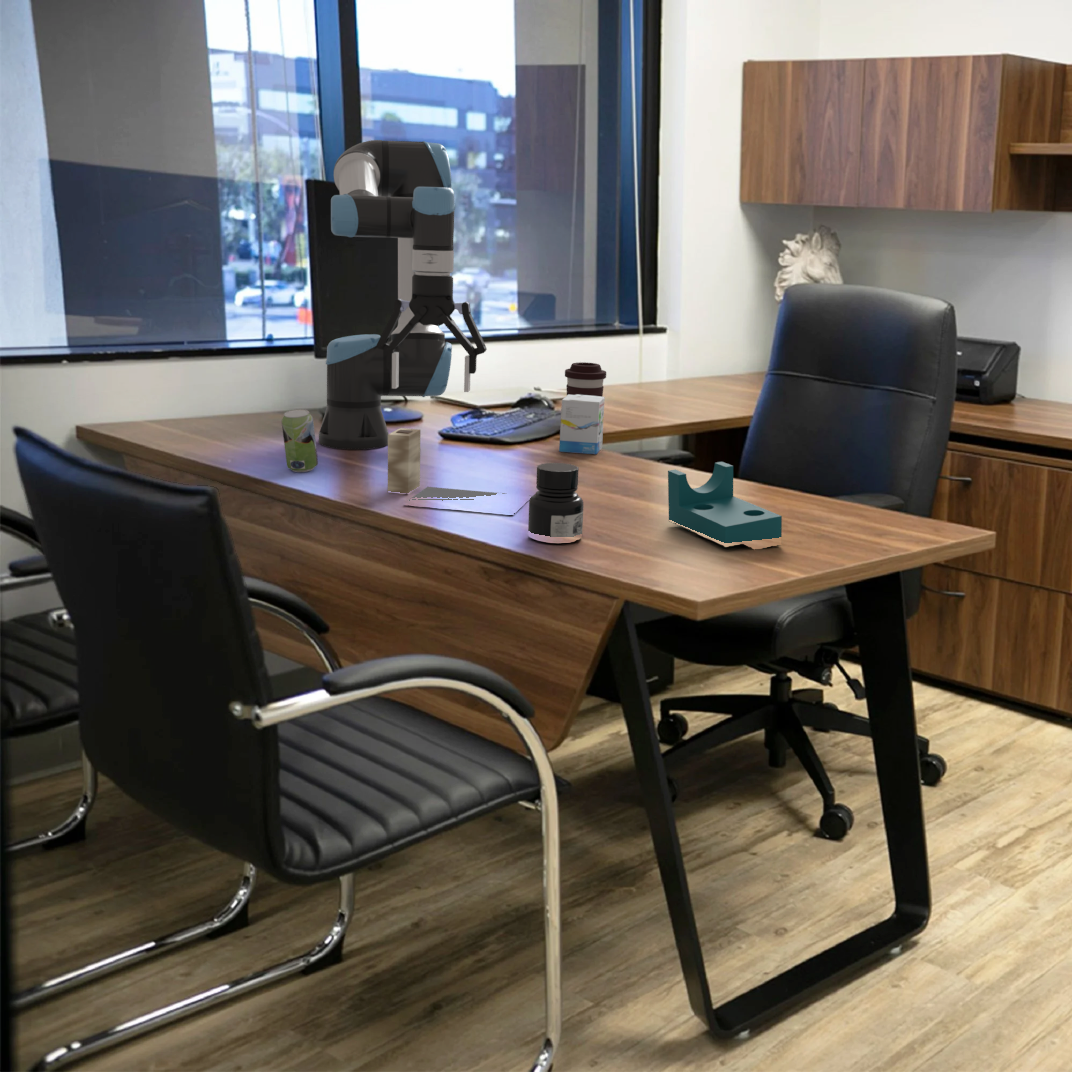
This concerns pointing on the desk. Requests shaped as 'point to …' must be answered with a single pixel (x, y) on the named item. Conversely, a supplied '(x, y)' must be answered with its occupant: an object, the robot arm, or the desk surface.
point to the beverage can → (299, 440)
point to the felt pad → (449, 493)
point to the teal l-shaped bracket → (719, 509)
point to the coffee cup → (585, 379)
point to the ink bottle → (556, 502)
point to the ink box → (581, 424)
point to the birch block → (404, 460)
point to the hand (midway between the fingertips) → (431, 389)
